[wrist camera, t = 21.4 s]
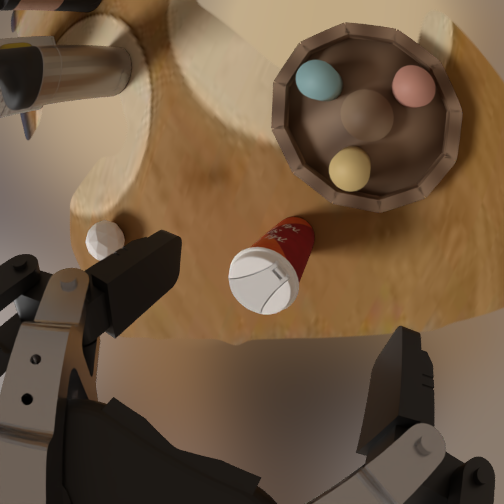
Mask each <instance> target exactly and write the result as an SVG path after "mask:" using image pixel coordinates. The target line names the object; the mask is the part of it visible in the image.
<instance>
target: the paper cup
mask: <svg viewBox="0 0 504 504" xmlns="http://www.w3.org/2000/svg"><path fill="white" fill-rule="evenodd" d="M314 240H315V235H314V231H313V229H312V227H311V225H310V224H309V223H308V222H307V221H305V220H304V219H302V218H299V217H289V218H286V219H284V220H282V221H281V222H280V223H278V224H277V225H276V226H275V227H273V228H272V229H271V230H270V231H269V232H267V233H266V234H265V235H264V236H263V237H261V238H260V239H259V240H258V241H257V242H256V243H254V244H253V245H252V246H251V247H250V248H247V249H245V250H242V251H241V252H239V253H238V254H237V255H236V256H235V257H234V259H233V260H232V263H231V265H230V272H229V284H230V288H231V291H232V293H233V295H234V296H235V298H236V299H237V300H238V301H239V302H240V303H241V304H242V305H243V306H244V307H246V308H247V309H249V310H251V311H254V312H256V313H259V314H274V313H277V312H279V311H281V310H283V309H285V308H287V307H289V306H290V305H291V304H292V303H293V302H294V300H295V299H296V297H297V294H298V290H299V282H300V279H301V277H302V274H303V272H304V269H305V266H306V264H307V261H308V259H309V256H310V253H311V251H312V248H313V244H314Z"/></svg>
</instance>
